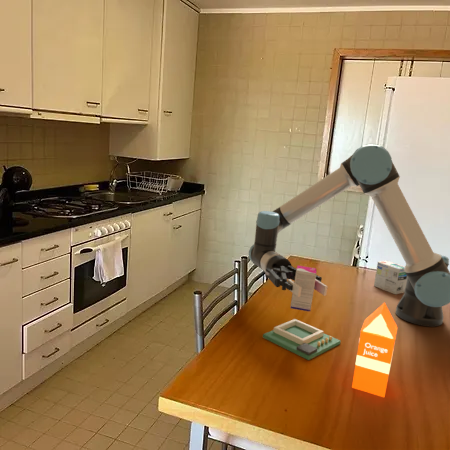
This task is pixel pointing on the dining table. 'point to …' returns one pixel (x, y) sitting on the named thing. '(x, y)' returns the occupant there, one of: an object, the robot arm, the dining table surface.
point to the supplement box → (304, 288)
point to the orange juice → (375, 352)
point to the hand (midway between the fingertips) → (312, 291)
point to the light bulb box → (390, 277)
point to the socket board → (301, 339)
